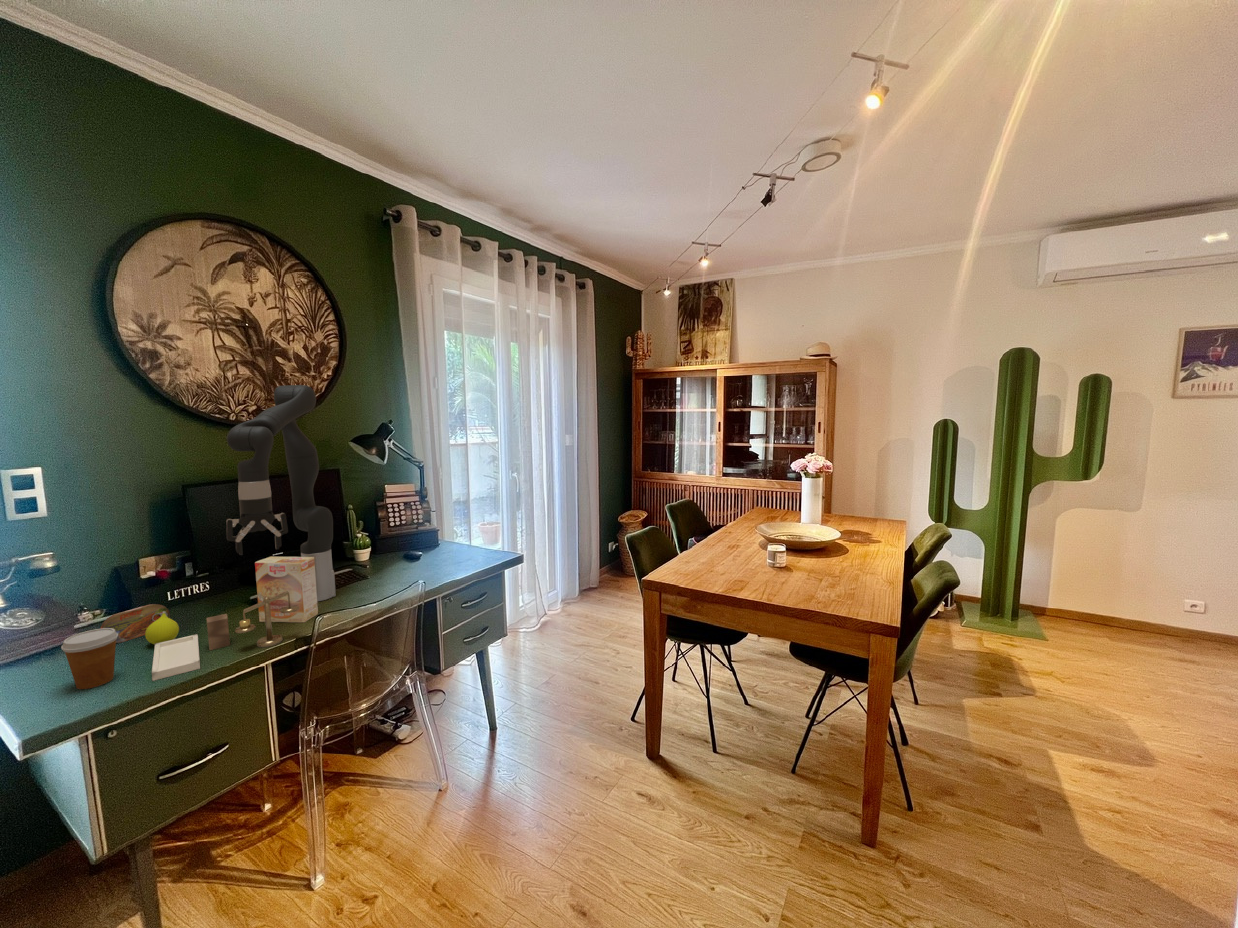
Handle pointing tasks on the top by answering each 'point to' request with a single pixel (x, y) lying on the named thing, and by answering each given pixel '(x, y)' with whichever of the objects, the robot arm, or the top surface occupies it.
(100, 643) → the disposable coffee cup
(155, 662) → the dish
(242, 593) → the top surface
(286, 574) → the coffeecake box
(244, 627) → the balance
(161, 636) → the ornament
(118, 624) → the tin
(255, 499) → the robot arm
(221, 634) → the block
